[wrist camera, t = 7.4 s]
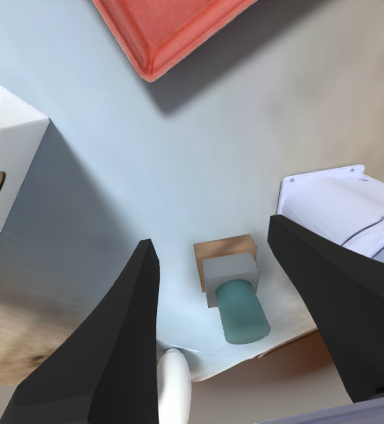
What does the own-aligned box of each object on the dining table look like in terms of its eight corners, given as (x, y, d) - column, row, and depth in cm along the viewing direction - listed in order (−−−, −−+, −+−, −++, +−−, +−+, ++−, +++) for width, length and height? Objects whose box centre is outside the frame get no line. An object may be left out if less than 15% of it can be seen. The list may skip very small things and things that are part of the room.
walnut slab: (248, 231, 26) (256, 246, 23) (246, 267, 30) (253, 283, 28) (193, 241, 26) (195, 257, 23) (199, 276, 30) (202, 292, 28)
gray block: (250, 252, 24) (259, 270, 21) (247, 281, 27) (254, 300, 25) (201, 259, 24) (205, 278, 21) (204, 288, 27) (208, 308, 25)
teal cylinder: (257, 279, 22) (277, 321, 18) (246, 300, 25) (261, 342, 21) (219, 279, 21) (231, 324, 17) (212, 301, 24) (221, 345, 20)
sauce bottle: (164, 358, 47) (162, 482, 32) (150, 348, 43) (139, 486, 28) (192, 350, 46) (203, 475, 31) (180, 339, 42) (187, 477, 27)
